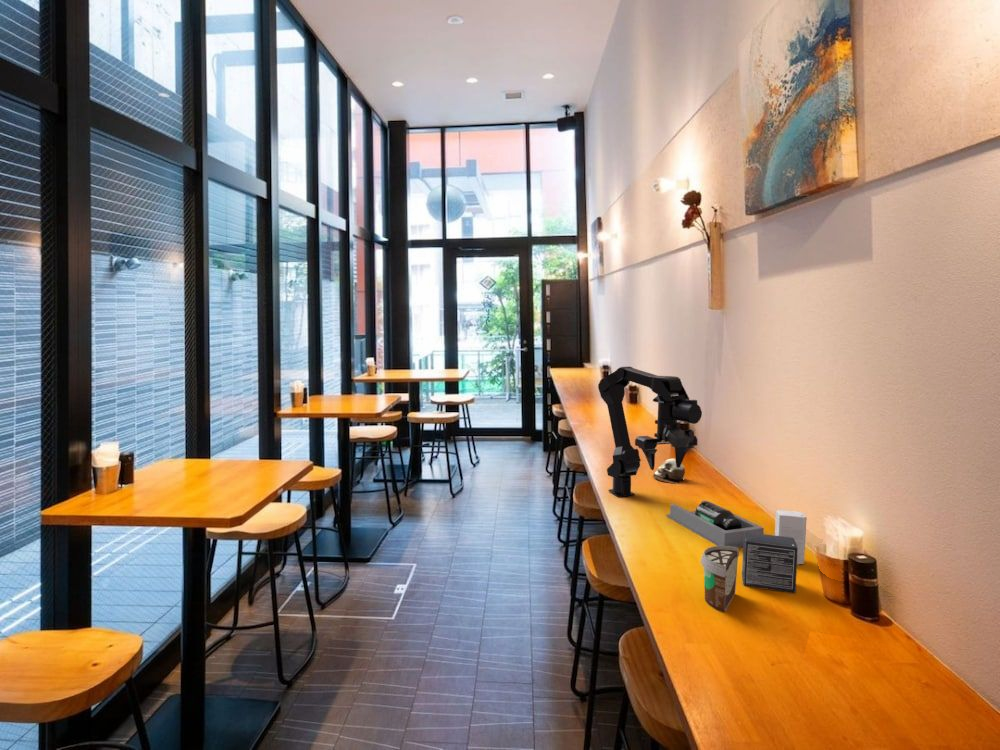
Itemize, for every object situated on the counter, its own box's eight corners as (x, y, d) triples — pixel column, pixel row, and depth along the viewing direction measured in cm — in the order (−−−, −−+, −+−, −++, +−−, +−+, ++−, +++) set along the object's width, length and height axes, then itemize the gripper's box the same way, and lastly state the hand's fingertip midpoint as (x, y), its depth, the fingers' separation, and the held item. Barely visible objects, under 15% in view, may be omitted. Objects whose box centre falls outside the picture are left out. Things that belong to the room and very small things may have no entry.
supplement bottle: (690, 518, 159) (719, 534, 148) (701, 496, 159) (731, 511, 148) (707, 527, 161) (737, 543, 150) (717, 506, 162) (749, 520, 150)
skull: (645, 476, 206) (655, 452, 210) (655, 490, 212) (664, 467, 217) (676, 482, 198) (685, 457, 202) (686, 496, 204) (694, 472, 208)
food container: (707, 583, 126) (709, 540, 125) (736, 591, 123) (739, 546, 122) (691, 606, 116) (693, 559, 115) (722, 615, 113) (725, 567, 112)
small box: (791, 581, 128) (794, 536, 127) (796, 594, 122) (799, 547, 121) (741, 573, 131) (743, 530, 130) (743, 586, 125) (745, 540, 124)
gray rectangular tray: (666, 516, 168) (666, 503, 168) (702, 511, 172) (703, 498, 172) (724, 549, 145) (725, 534, 144) (765, 543, 149) (766, 528, 148)
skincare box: (799, 558, 140) (802, 511, 139) (804, 565, 136) (807, 517, 135) (772, 555, 141) (775, 509, 140) (776, 562, 137) (779, 515, 136)
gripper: (656, 424, 160) (654, 478, 162) (710, 421, 166) (708, 473, 168) (634, 417, 171) (633, 468, 172) (687, 415, 177) (684, 463, 178)
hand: (665, 468), depth 172 cm, fingers open, 9 cm apart
